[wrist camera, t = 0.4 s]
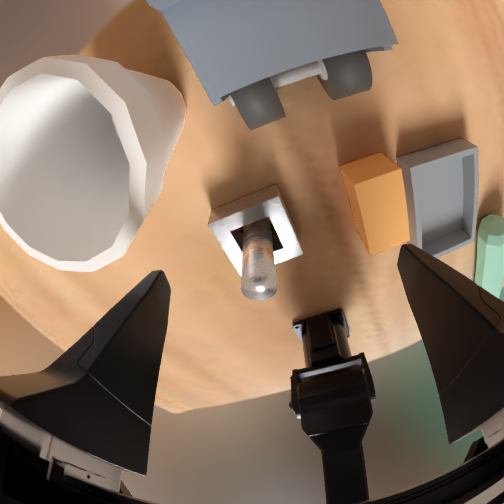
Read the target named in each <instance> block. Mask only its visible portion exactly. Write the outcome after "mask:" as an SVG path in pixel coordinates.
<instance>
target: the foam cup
mask: <svg viewBox="0 0 504 504" xmlns="http://www.w3.org/2000/svg"><path fill="white" fill-rule="evenodd" d="M186 112H187V109H186V106H185V102H184V99H183V95H182V93H181V92H180V91H179V90H178V89H177V88H176V87H175V86H174V85H173V84H172V83H171V82H170V81H168V80H165V79H162V78H158V77H155V76H152V75H148V74H145V73H141V72H137V71H133V70H129V69H125V68H123V67H122V66H121V65H120V64H119V63H118V62H115V61H110V60H105V59H100V58H95V57H90V56H84V55H63V56H52V57H43V58H41V59H39V60H37V61H35V62H33V63H31V64H30V65H28V66H26V67H24V68H23V69H21V70H19V71H17V72H16V73H14V74H12V75H11V76H9V77H8V78H7V80H6V81H5V82H4V84H3V85H2V87H1V88H0V224H1V225H2V227H3V229H4V230H5V231H6V232H7V233H8V234H9V235H10V236H11V237H12V238H13V239H14V240H15V241H16V242H17V243H18V244H19V245H20V246H21V247H22V248H23V249H24V250H25V251H26V252H27V253H28V254H29V255H30V256H32V257H34V258H36V259H38V260H40V261H42V262H44V263H46V264H48V265H50V266H52V267H54V268H56V269H58V270H64V271H84V272H94V271H96V270H98V269H100V268H102V267H103V266H105V265H107V264H109V263H111V262H113V261H115V260H117V259H119V258H121V257H123V256H124V254H125V252H126V251H127V249H128V247H129V245H130V243H131V242H132V240H133V238H134V236H135V235H136V233H137V231H138V229H139V228H140V226H141V224H142V223H143V221H144V219H145V218H146V216H147V214H148V213H149V211H150V209H151V208H152V206H153V204H154V203H155V201H156V200H157V198H158V196H159V195H160V193H161V192H162V185H163V175H164V172H165V170H166V167H167V165H168V162H169V160H170V158H171V155H172V153H173V151H174V148H175V146H176V144H177V141H178V139H179V137H180V135H181V133H182V130H183V128H184V123H185V117H186Z"/></svg>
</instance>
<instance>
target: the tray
mask: <svg viewBox="0 0 504 504" xmlns="http://www.w3.org/2000/svg"><path fill="white" fill-rule="evenodd" d="M397 164H398V166H399V167H400V168H401V170H402V176H403V182H404V188H405V196H406V204H407V212H408V222H409V234H410V241H408V242H407V243H408V244H413V245H415V246H417V247H418V248H420V249H422V250H423V251H425V252H427V253H429V254H430V255H432V256H434V257H435V258H438V257H440V256H442V255H445V254H447V253H449V252H451V251H454V250H456V249H458V248H460V247H462V246H465V245H467V244H469V243H471V242H473V241H474V239H475V231H476V221H477V208H478V182H479V171H478V147H477V146H476V145H474V144H472V143H470V142H468V141H467V140H465V139H463V138H460V139H456V140H453V141H449V142H446V143H442V144H439V145H436V146H432V147H429V148H426V149H422V150H419V151H416V152H412V153H409V154H406V155H403V156H400V157H397Z"/></svg>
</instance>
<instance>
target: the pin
mask: <svg viewBox="0 0 504 504" xmlns="http://www.w3.org/2000/svg"><path fill="white" fill-rule="evenodd" d="M241 291H242V293H243V294H244V296H246V297H247V298H249V299H251V300H256V301H262V300H266V299H269V298H271V297H272V296H273V295H274V294H275V293H276V291H277V279H276V269H275V260H274V251H273V241H272V232H271V224H270V220H269V218H268V217H266V218H263V219H260V220H258V221H255V222H253V223H250V224H247V225H245V226H244V227H243V251H242V277H241Z"/></svg>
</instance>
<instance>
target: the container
mask: <svg viewBox="0 0 504 504" xmlns="http://www.w3.org/2000/svg"><path fill="white" fill-rule="evenodd" d="M503 277H504V218H503V217H501V216H500V215H493V214H489V215H488V216H486V217H484V218H483V219H482V220H481V222H480V224H479V229H478V243H477V262H476V274H475V283H476V284H477V285H478V286H481V287H482V288H483V289H485V290H486V291H488V292H489V293H491V294H492V295H494V296H495V297H497V298H499V295H500V291H501V287H502V282H503Z"/></svg>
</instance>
